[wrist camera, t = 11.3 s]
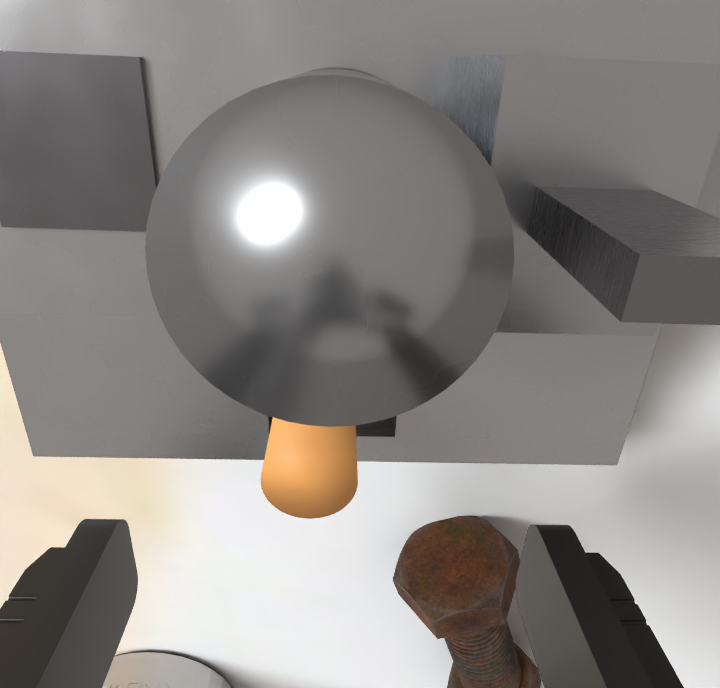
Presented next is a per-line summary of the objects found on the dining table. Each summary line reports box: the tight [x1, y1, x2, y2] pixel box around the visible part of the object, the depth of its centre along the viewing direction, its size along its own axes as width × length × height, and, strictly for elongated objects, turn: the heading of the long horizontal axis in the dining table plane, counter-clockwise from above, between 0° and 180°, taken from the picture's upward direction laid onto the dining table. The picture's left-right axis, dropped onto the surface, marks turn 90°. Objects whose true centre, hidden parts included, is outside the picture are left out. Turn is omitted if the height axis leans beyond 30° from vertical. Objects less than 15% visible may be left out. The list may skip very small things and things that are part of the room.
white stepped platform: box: [0, 0, 720, 465], centre depth 12 cm, size 19×24×14 cm
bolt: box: [393, 516, 541, 688], centre depth 28 cm, size 6×5×15 cm
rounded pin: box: [261, 417, 358, 518], centre depth 17 cm, size 2×2×10 cm
